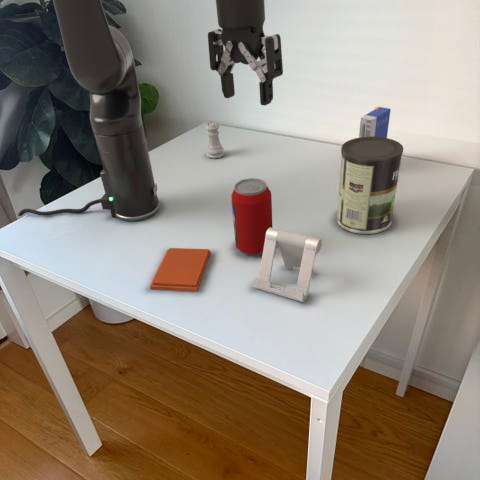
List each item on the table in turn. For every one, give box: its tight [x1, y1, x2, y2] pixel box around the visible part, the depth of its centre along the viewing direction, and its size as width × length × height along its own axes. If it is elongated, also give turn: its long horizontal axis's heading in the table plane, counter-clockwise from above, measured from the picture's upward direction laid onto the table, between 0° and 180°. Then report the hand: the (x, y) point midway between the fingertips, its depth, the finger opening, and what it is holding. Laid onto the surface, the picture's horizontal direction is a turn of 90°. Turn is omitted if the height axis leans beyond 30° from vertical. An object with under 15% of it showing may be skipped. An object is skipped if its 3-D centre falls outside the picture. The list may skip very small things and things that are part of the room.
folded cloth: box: [149, 247, 212, 293], centre depth 83 cm, size 8×11×1 cm
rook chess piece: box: [205, 120, 225, 160], centre depth 116 cm, size 4×4×8 cm
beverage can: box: [230, 177, 273, 256], centre depth 83 cm, size 7×7×12 cm
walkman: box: [358, 106, 392, 138], centre depth 104 cm, size 8×3×12 cm, turn 138°
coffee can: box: [336, 137, 404, 235], centre depth 87 cm, size 10×10×14 cm
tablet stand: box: [252, 227, 323, 303], centre depth 75 cm, size 9×8×8 cm
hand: (247, 100), depth 84 cm, fingers open, 8 cm apart
